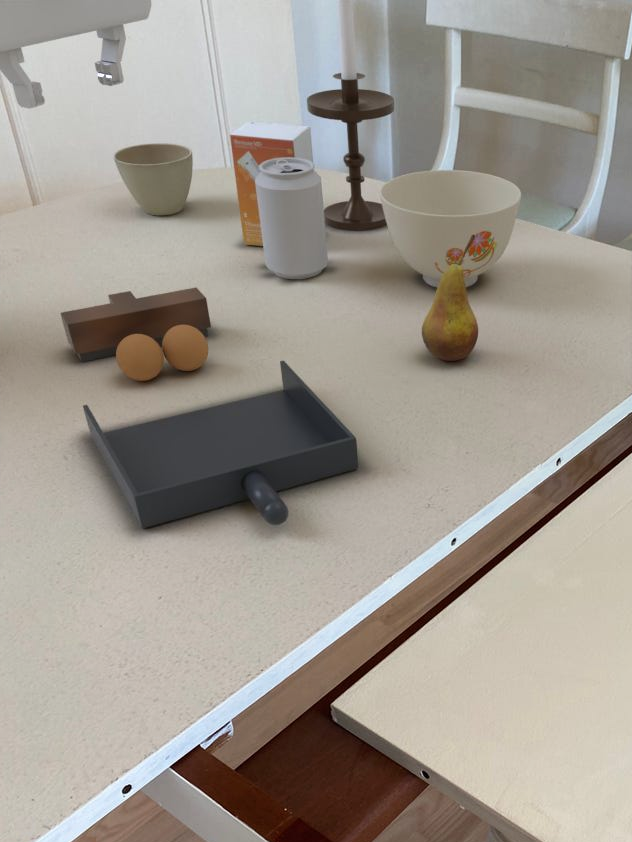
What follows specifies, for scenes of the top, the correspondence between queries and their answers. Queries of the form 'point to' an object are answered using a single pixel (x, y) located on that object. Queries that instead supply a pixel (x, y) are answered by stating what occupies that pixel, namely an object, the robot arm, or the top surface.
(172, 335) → the ball right
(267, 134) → the small box
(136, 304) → the brush
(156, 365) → the ball left
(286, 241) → the can
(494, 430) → the top surface
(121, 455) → the dustpan
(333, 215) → the candlestick
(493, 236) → the bowl
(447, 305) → the fruit
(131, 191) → the flower pot
